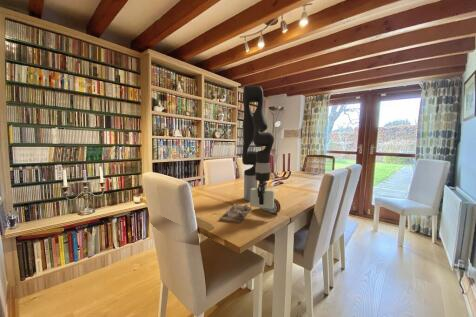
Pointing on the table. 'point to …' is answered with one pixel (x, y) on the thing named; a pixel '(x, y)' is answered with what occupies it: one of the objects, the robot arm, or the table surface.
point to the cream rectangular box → (267, 198)
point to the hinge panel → (236, 214)
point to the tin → (275, 208)
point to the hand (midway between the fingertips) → (262, 203)
